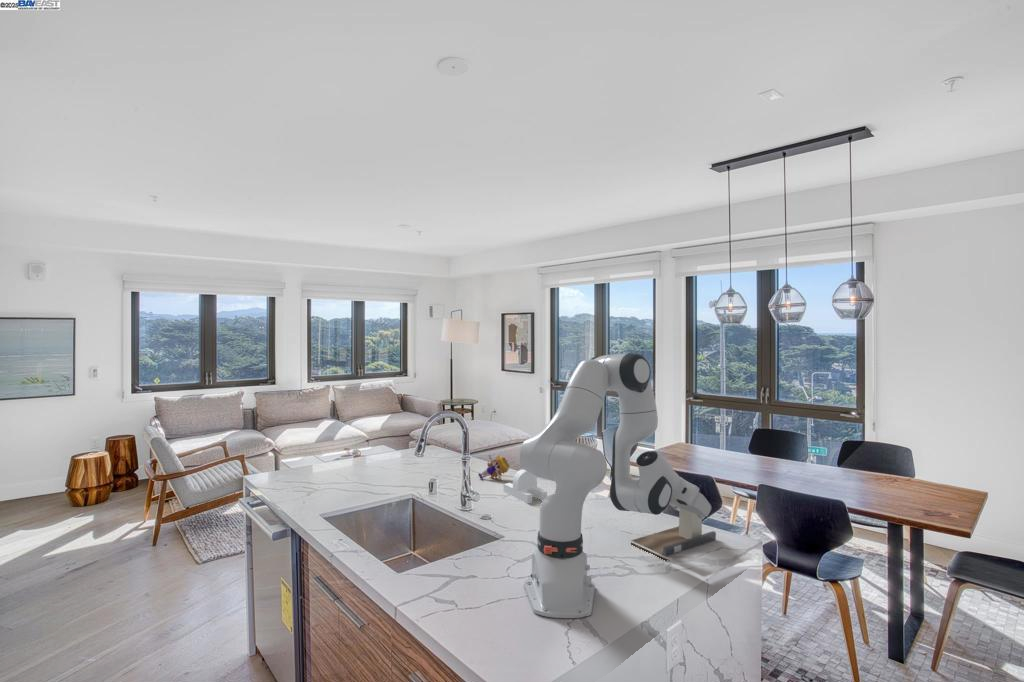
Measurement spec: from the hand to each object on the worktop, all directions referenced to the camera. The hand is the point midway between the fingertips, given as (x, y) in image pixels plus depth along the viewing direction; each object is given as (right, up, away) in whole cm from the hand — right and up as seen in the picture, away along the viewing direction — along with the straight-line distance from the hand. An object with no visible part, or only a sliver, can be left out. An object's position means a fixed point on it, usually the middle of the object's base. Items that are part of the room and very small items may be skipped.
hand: (690, 512), depth 167 cm
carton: (0, -8, 0) cm, 8 cm away
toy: (-67, -8, +70) cm, 97 cm away
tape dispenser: (-53, -9, +45) cm, 70 cm away
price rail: (-3, -8, -9) cm, 12 cm away
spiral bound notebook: (-7, -9, -3) cm, 12 cm away
